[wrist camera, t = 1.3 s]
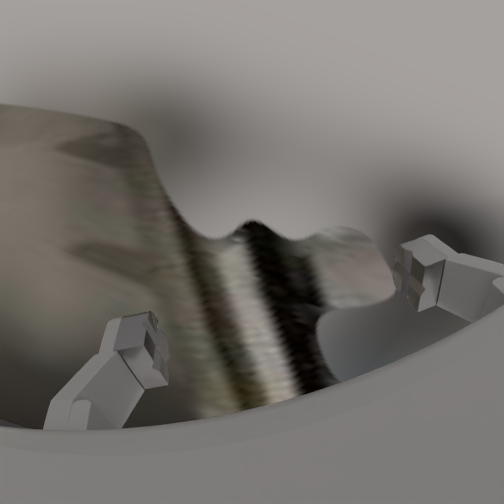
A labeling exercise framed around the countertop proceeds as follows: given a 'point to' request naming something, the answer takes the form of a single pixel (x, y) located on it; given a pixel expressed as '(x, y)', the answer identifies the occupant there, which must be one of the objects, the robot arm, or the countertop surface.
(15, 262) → the countertop surface
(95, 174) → the countertop surface
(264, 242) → the countertop surface
